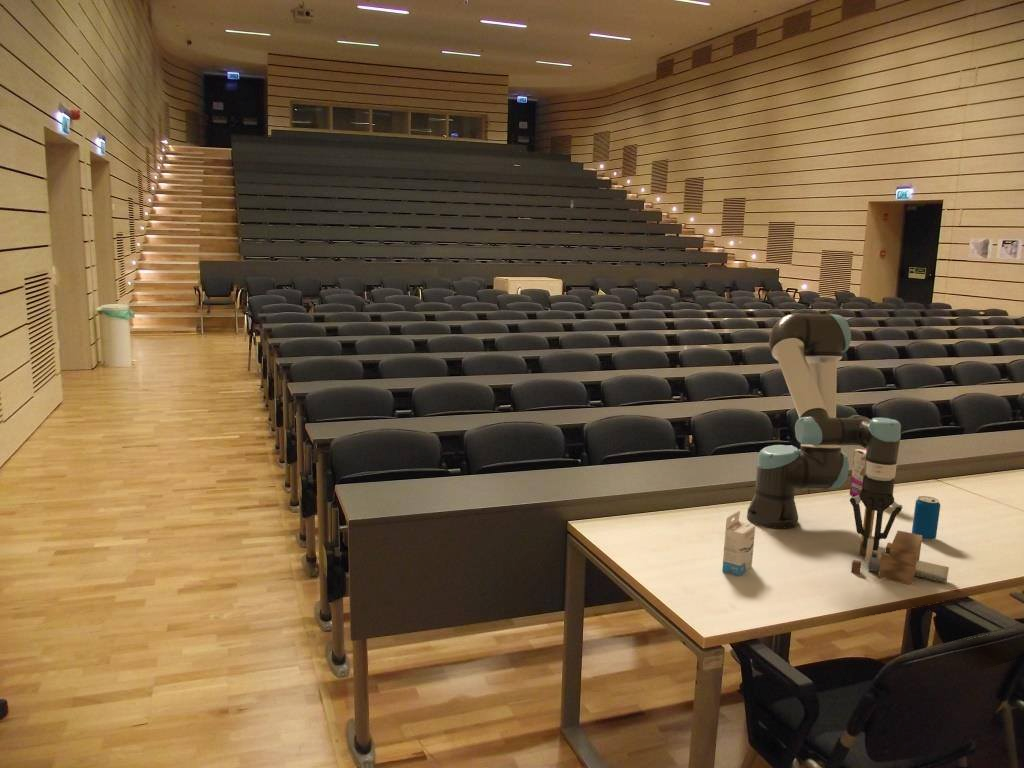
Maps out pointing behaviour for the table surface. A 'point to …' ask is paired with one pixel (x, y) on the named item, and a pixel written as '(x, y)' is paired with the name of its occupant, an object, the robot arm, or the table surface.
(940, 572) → the pin
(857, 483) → the candy bar box
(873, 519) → the bar
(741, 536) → the ink box
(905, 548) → the hitch block
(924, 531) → the beverage can
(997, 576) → the table surface
